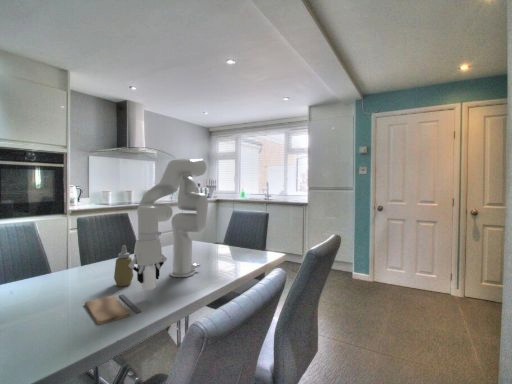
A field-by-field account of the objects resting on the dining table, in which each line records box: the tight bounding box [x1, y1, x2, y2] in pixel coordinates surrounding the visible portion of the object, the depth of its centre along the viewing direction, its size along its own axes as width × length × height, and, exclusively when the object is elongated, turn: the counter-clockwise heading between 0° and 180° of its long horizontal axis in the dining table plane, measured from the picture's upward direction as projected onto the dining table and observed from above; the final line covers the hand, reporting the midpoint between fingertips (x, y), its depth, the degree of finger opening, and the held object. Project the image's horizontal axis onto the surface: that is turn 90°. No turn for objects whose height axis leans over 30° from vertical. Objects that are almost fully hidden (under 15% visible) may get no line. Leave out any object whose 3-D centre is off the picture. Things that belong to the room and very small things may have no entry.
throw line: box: [118, 294, 142, 314], centre depth 108 cm, size 2×20×1 cm, turn 42°
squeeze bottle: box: [113, 245, 134, 287], centre depth 128 cm, size 8×8×18 cm
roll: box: [141, 264, 157, 291], centre depth 113 cm, size 6×12×6 cm
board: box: [84, 295, 131, 325], centre depth 103 cm, size 10×20×1 cm, turn 42°
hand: (148, 279), depth 114 cm, fingers closed on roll, 5 cm apart
